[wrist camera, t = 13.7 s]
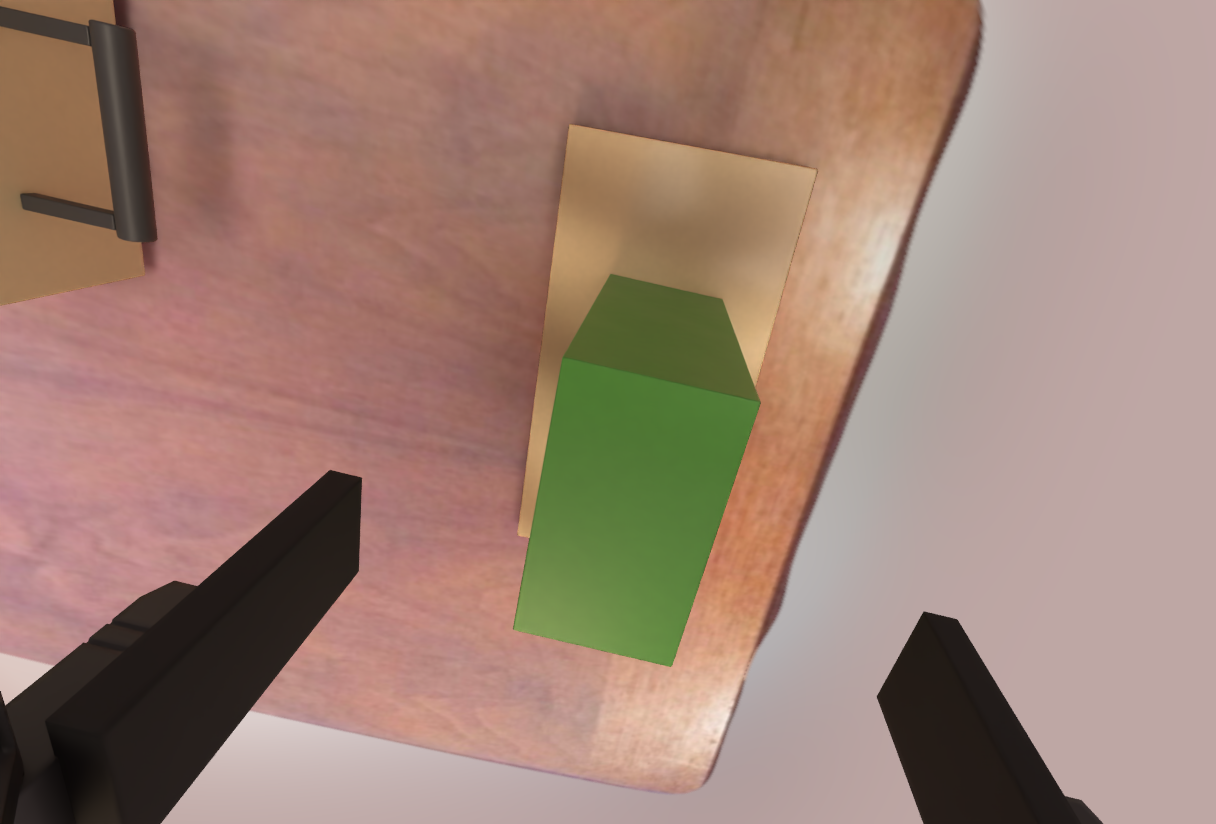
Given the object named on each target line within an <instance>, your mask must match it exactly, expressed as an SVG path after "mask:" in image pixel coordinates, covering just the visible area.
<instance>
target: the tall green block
mask: <svg viewBox="0 0 1216 824" xmlns="http://www.w3.org/2000/svg"><path fill="white" fill-rule="evenodd" d="M760 404H761V402H760V399H759V397H758V394H757V391H756V388H755V386H754V383H753V380H752V378H751V375H750V372H749V370H748V367H747V364H746V361H745V359H744V356H743V353H742V351H741V348H740V345H739V342H738V340H737V337H736V334H735V332H734V329H733V326H732V324H731V321H730V318H729V315H728V313H727V310H726V307H725V305H724V302H723V299H720V298H715V297H711V296H707V295H702V294H698V293H693V292H689V291H684V290H680V289H676V288H671V287H667V286H662V285H658V284H653V283H649V282H645V281H640V280H636V279H631V278H627V277H623V276H618V275H614V274H610V275H609V277H608V279H607V280H606V282H605V284H604V286H603V287H602V289H601V291H600V293H599V294H598V296H597V298H596V300H595V301H594V303H593V305H592V307H591V308H590V310H589V312H588V314H587V315H586V317H585V319H584V321H583V322H582V324H581V326H580V327H579V329H578V331H577V333H576V334H575V336H574V338H573V340H572V341H571V343H570V345H569V347H568V348H567V350H566V352H565V354H564V355H563V357H562V361H561V366H560V372H559V377H558V383H557V388H556V394H555V399H554V405H553V411H552V416H551V422H550V427H549V433H548V438H547V444H546V449H545V455H544V460H543V466H542V471H541V477H540V482H539V488H538V493H537V499H536V504H535V510H534V516H533V521H532V527H531V532H530V538H529V543H528V549H527V554H526V560H525V565H524V571H523V576H522V582H521V587H520V593H519V598H518V604H517V610H516V615H515V621H514V626H513V630H516V631H520V632H524V633H529V634H533V635H537V636H541V637H546V638H550V639H554V640H558V641H563V642H567V643H571V644H575V645H580V646H584V647H588V648H592V649H597V650H601V651H605V652H609V653H614V654H618V655H622V656H626V657H631V658H635V659H639V660H643V661H648V662H652V663H656V664H660V665H665V666H669V667H671V666H672V664H673V661H674V659H675V656H676V653H677V650H678V647H679V644H680V641H681V638H682V635H683V632H684V629H685V626H686V623H687V620H688V617H689V614H690V611H691V608H692V605H693V602H694V599H695V596H696V593H697V590H698V587H699V584H700V581H701V578H702V576H703V573H704V570H705V567H706V564H707V561H708V558H709V555H710V552H711V549H712V546H713V543H714V540H715V537H716V534H717V531H718V528H719V525H720V522H721V519H722V516H723V513H724V510H725V507H726V504H727V501H728V498H729V496H730V493H731V490H732V487H733V484H734V481H735V478H736V475H737V472H738V469H739V466H740V463H741V460H742V457H743V454H744V451H745V448H746V445H747V442H748V439H749V436H750V433H751V430H752V427H753V424H754V421H755V418H756V415H757V413H758V410H759V407H760Z"/></svg>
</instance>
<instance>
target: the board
mask: <svg viewBox="0 0 1216 824" xmlns="http://www.w3.org/2000/svg"><path fill="white" fill-rule="evenodd" d="M817 172H818V169H815V168H810V167H804V166H799V165H793V164H788V163H782V162H777V161H771V160H766V159H760V158H755V157H749V156H744V155H738V154H733V153H727V152H722V151H716V150H711V149H705V148H700V147H694V146H689V145H683V144H678V143H672V142H667V141H661V140H656V139H651V138H645V137H640V136H634V135H629V134H623V133H618V132H612V131H607V130H601V129H596V128H590V127H585V126H579V125H574V124H569V129H568V137H567V145H566V153H565V161H564V169H563V177H562V185H561V193H560V201H559V208H558V216H557V224H556V232H555V240H554V248H553V256H552V264H551V272H550V280H549V288H548V295H547V303H546V311H545V319H544V327H543V335H542V343H541V351H540V359H539V367H538V375H537V383H536V390H535V398H534V406H533V414H532V422H531V430H530V438H529V446H528V454H527V462H526V470H525V477H524V485H523V493H522V501H521V509H520V517H519V525H518V533H517V535H518V536H522V537H527V538H530V532H531V527H532V521H533V516H534V510H535V504H536V499H537V493H538V488H539V482H540V477H541V471H542V466H543V460H544V455H545V449H546V444H547V438H548V433H549V427H550V422H551V416H552V411H553V405H554V399H555V394H556V388H557V383H558V377H559V372H560V366H561V361H562V357H563V355H564V354H565V352H566V350H567V348H568V347H569V345H570V343H571V341H572V340H573V338H574V336H575V334H576V333H577V331H578V329H579V327H580V326H581V324H582V322H583V321H584V319H585V317H586V315H587V314H588V312H589V310H590V308H591V307H592V305H593V303H594V301H595V300H596V298H597V296H598V294H599V293H600V291H601V289H602V287H603V286H604V284H605V282H606V280H607V279H608V277H609V275H610V274H614V275H618V276H623V277H627V278H631V279H636V280H640V281H645V282H649V283H653V284H658V285H662V286H667V287H671V288H676V289H680V290H684V291H689V292H693V293H698V294H702V295H707V296H711V297H715V298H720V299H723V302H724V305H725V307H726V310H727V313H728V315H729V318H730V321H731V324H732V326H733V329H734V332H735V334H736V337H737V340H738V342H739V345H740V348H741V351H742V353H743V356H744V359H745V361H746V364H747V367H748V370H749V372H750V375H751V378H752V380H753V383H754V386H755V387H756V383H757V380H758V376H759V373H760V370H761V366H762V363H763V359H764V356H765V352H766V349H767V345H768V342H769V338H770V335H771V331H772V328H773V325H774V321H775V318H776V314H777V311H778V307H779V304H780V300H781V297H782V293H783V290H784V286H785V283H786V280H787V276H788V273H789V269H790V266H791V262H792V259H793V255H794V252H795V248H796V245H797V241H798V238H799V235H800V231H801V228H802V224H803V221H804V217H805V214H806V210H807V207H808V203H809V200H810V196H811V193H812V190H813V186H814V183H815V179H816V176H817Z"/></svg>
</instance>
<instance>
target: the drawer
mask: <svg viewBox="0 0 1216 824" xmlns="http://www.w3.org/2000/svg"><path fill="white" fill-rule="evenodd" d="M156 240H157V229H156V220H155V211H154V201H153V192H152V182H151V173H150V164H149V154H148V145H147V135H146V126H145V117H144V107H143V98H142V88H141V79H140V70H139V60H138V51H137V41H136V33H135V31H134V30H133V29H130V28H127V27H122V26H118V25H116V22H115V13H114V5H113V0H0V306H1V305H6V304H11V303H16V302H20V301H25V300H30V299H35V298H40V297H44V296H49V295H54V294H59V293H63V292H68V291H73V290H78V289H83V288H87V287H92V286H97V285H102V284H106V283H111V282H116V281H121V280H126V279H130V278H135V277H140V276H144V275H145V269H144V260H143V252H142V243H141V242H154V241H156Z"/></svg>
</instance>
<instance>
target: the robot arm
mask: <svg viewBox="0 0 1216 824" xmlns="http://www.w3.org/2000/svg"><path fill="white" fill-rule="evenodd" d="M361 490H362V478H361V477H357V476H353V475H349V474H344V473H340V472H336V471H332V470H329V471H328V472H327V473H326V474H325V475H324V476H323V477H321V478H320V479H319V480H318V481H317V482H316V483H315V484H313V485H312V486H311V487H310V488H309V489H308V490H307V491H305V492H304V493H303V494H302V495H301V496H300V497H299V498H298V499H296V500H295V501H294V502H293V503H292V504H291V505H290V506H288V507H287V508H286V509H285V510H284V511H283V512H282V513H280V514H279V515H278V516H277V517H276V518H275V519H274V520H272V521H271V522H270V523H269V524H268V525H267V526H266V527H265V528H263V529H262V530H261V531H260V532H259V533H258V534H257V535H255V536H254V537H253V538H252V539H251V540H250V541H249V542H247V543H246V544H245V545H244V546H243V547H242V548H241V549H239V550H238V551H237V552H236V553H235V554H234V555H233V556H232V557H230V558H229V559H228V560H227V561H226V562H225V563H224V564H222V565H221V566H220V567H219V568H218V569H217V570H216V571H214V572H213V573H212V574H211V575H210V576H209V577H208V578H206V579H205V580H204V581H203V582H202V583H201V584H200V585H199V586H194V585H190V584H186V583H182V582H178V581H173V582H171V583H169V584H166V585H164V586H162V587H160V588H158V589H156V590H154V591H152V592H150V593H148V594H146V595H143V596H141V597H140V598H138V599H137V600H136V601H135V602H133V603H132V604H131V605H130V606H128V607H127V608H126V609H125V610H123V611H122V612H121V613H120V614H119V615H117V616H116V617H115V618H114V619H113V620H112V622H111V624H106V625H105V626H104V627H102V628H101V629H100V630H99V631H97V632H96V633H95V634H94V635H92V636H91V637H90V638H89V641H88V642H87V643H83V644H81V645H80V646H79V647H78V648H76V649H75V650H74V651H73V652H71V653H70V654H69V655H68V656H66V657H65V658H64V659H63V660H61V661H60V662H59V663H58V664H56V665H55V666H54V667H53V668H52V669H50V670H49V671H48V672H47V673H45V674H44V675H43V676H42V677H40V678H39V679H38V680H37V681H35V682H34V683H33V684H32V685H30V686H29V687H28V688H27V689H25V690H24V691H23V692H22V693H20V694H19V695H18V696H17V697H15V698H14V699H13V700H12V701H10V702H9V703H8V704H7V705H6V706H5V704H4V701H3V697H2V694H1V691H0V824H160V823H162V821H163V820H164V819H165V817H166V816H167V815H168V814H169V812H170V811H171V810H172V808H173V807H174V806H175V805H176V803H177V802H178V801H179V800H180V798H181V797H182V796H183V794H184V793H185V792H186V791H187V789H188V788H189V787H190V786H191V784H192V783H193V782H194V780H195V779H196V778H197V777H198V775H199V774H200V773H201V772H202V770H203V769H204V768H205V766H206V765H207V764H208V762H209V761H210V760H211V759H212V758H213V756H214V755H215V753H216V752H217V751H218V750H219V749H220V747H221V746H222V745H223V744H224V742H225V741H226V740H227V738H228V737H229V736H230V734H231V733H232V732H233V731H234V730H235V728H236V727H237V726H238V724H239V723H240V722H241V721H242V719H243V718H244V717H245V716H246V714H247V713H248V712H249V710H250V709H251V708H252V707H253V705H254V704H255V703H256V702H257V700H258V699H259V698H260V696H261V695H262V694H263V693H264V691H265V690H266V689H267V688H268V686H269V685H270V684H271V682H272V681H273V680H274V679H275V677H276V676H277V675H278V674H279V672H280V671H281V670H282V668H283V667H284V666H285V665H286V663H287V662H288V661H289V660H290V658H291V657H292V656H293V654H294V653H295V652H296V651H297V649H298V648H299V647H300V646H301V644H302V643H303V642H304V640H305V639H306V638H307V637H308V635H309V634H310V633H311V631H312V630H313V629H314V628H315V626H316V625H317V624H318V623H319V621H320V620H321V619H322V617H323V616H324V615H325V614H326V612H327V611H328V610H329V609H330V607H331V606H332V605H333V603H334V602H335V601H336V600H337V598H338V597H339V596H340V595H341V593H342V592H343V591H344V589H345V588H346V587H347V586H348V584H349V583H350V582H351V581H352V579H353V578H354V577H355V575H356V574H357V573H358V572H359V548H360V519H361ZM877 699H878V702H879V704H880V707H881V710H882V712H883V715H884V718H885V721H886V723H887V726H888V728H889V731H890V734H891V737H892V739H893V742H894V745H895V748H896V750H897V753H898V756H899V758H900V761H901V764H902V767H903V769H904V772H905V775H906V777H907V780H908V783H909V786H910V788H911V791H912V794H913V796H914V799H915V802H916V805H917V807H918V810H919V813H920V815H921V818H922V821H923V823H924V824H1103V823H1102V822H1101V821H1100V820H1099V819H1098V817H1097V816H1096V815H1095V814H1094V813H1093V812H1092V811H1091V810H1090V809H1089V808H1088V807H1087V806H1086V805H1085V804H1084V803H1083V801H1082V800H1079V799H1074V798H1070V797H1066V796H1064V794H1063V793H1062V791H1061V789H1060V788H1059V786H1058V785H1057V783H1056V781H1055V780H1054V778H1053V776H1052V775H1051V773H1050V771H1049V770H1048V768H1047V767H1046V765H1045V763H1044V761H1043V760H1042V758H1041V756H1040V755H1039V753H1038V751H1037V750H1036V748H1035V747H1034V745H1033V743H1032V742H1031V740H1030V738H1029V737H1028V735H1027V733H1026V732H1025V730H1024V728H1023V727H1022V725H1021V723H1020V722H1019V720H1018V719H1017V717H1016V715H1015V714H1014V712H1013V711H1012V709H1011V707H1010V706H1009V704H1008V702H1007V701H1006V699H1005V697H1004V696H1003V694H1002V692H1001V691H1000V689H999V687H998V686H997V684H996V682H995V681H994V679H993V677H992V676H991V674H990V673H989V671H988V669H987V668H986V666H985V664H984V663H983V661H982V659H981V658H980V656H979V654H978V653H977V651H976V649H975V648H974V646H973V644H972V643H971V641H970V640H969V638H968V636H967V635H966V633H965V631H964V630H963V628H962V626H961V625H960V623H959V621H958V620H957V619H953V618H949V617H945V616H941V615H936V614H932V613H928V612H923V614H922V616H921V617H920V619H919V621H918V623H917V625H916V627H915V628H914V630H913V632H912V634H911V635H910V637H909V639H908V641H907V643H906V644H905V646H904V648H903V650H902V652H901V654H900V656H899V657H898V659H897V661H896V663H895V664H894V666H893V668H892V670H891V672H890V674H889V675H888V677H887V679H886V681H885V683H884V684H883V686H882V688H881V690H880V692H879V693H878V695H877Z"/></svg>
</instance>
